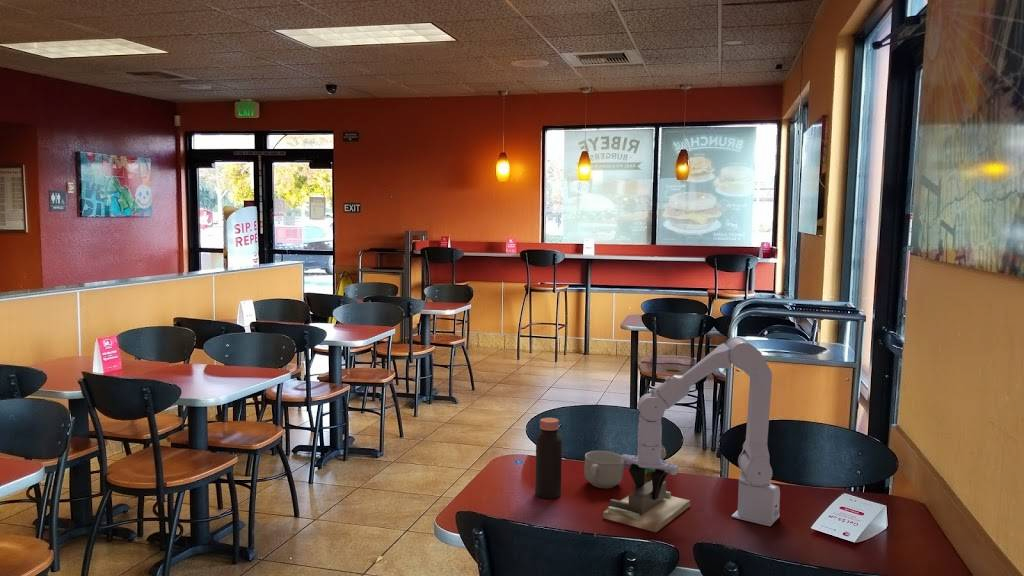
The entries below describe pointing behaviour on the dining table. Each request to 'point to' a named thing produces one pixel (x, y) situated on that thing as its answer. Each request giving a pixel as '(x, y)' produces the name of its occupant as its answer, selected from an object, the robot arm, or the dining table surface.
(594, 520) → the dining table surface
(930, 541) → the dining table surface
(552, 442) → the bottle
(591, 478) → the teacup
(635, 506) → the grey boxy piece
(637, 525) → the display stand
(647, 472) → the food container
